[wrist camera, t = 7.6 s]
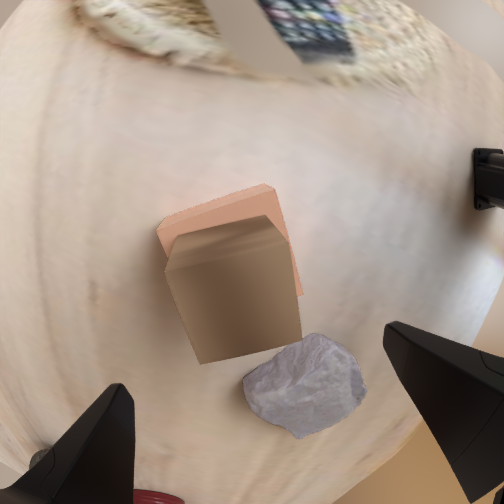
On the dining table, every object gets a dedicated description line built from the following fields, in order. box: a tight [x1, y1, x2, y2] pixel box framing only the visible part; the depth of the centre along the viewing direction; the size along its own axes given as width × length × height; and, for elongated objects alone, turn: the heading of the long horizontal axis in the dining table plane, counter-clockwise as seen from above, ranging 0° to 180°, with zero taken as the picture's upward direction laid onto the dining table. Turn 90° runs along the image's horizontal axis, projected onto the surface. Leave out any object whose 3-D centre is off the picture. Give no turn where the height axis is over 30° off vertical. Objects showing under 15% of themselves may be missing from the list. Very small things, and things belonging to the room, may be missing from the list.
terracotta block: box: [156, 183, 303, 297], centre depth 18 cm, size 7×7×4 cm
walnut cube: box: [164, 215, 302, 364], centre depth 14 cm, size 5×5×5 cm
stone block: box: [243, 333, 367, 439], centre depth 24 cm, size 12×5×10 cm
